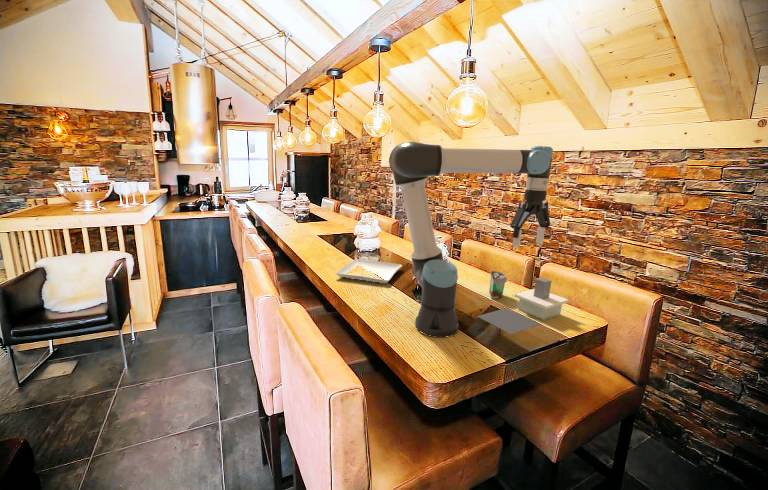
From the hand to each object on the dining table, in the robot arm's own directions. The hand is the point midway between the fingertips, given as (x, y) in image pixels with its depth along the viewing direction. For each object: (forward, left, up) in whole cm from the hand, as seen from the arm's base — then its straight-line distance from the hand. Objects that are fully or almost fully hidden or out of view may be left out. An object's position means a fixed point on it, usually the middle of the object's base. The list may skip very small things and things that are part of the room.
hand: (527, 245), depth 137 cm
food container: (+3, +14, -27) cm, 31 cm away
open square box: (+4, -6, -27) cm, 28 cm away
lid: (+4, -6, -21) cm, 22 cm away
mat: (-13, -5, -27) cm, 30 cm away
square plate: (-32, +66, -28) cm, 78 cm away
